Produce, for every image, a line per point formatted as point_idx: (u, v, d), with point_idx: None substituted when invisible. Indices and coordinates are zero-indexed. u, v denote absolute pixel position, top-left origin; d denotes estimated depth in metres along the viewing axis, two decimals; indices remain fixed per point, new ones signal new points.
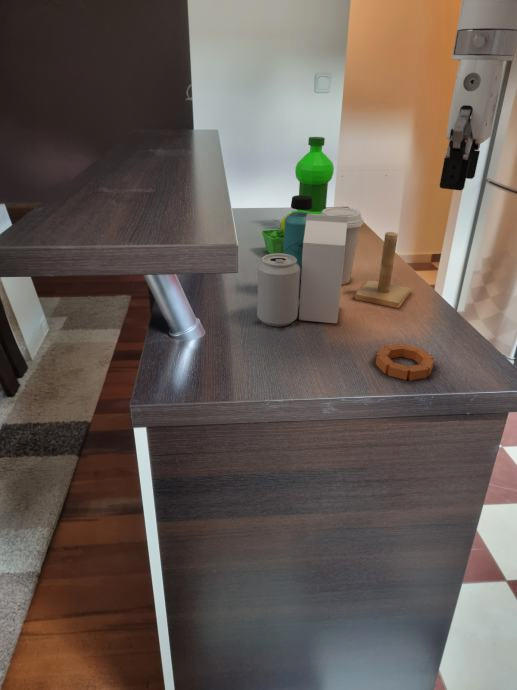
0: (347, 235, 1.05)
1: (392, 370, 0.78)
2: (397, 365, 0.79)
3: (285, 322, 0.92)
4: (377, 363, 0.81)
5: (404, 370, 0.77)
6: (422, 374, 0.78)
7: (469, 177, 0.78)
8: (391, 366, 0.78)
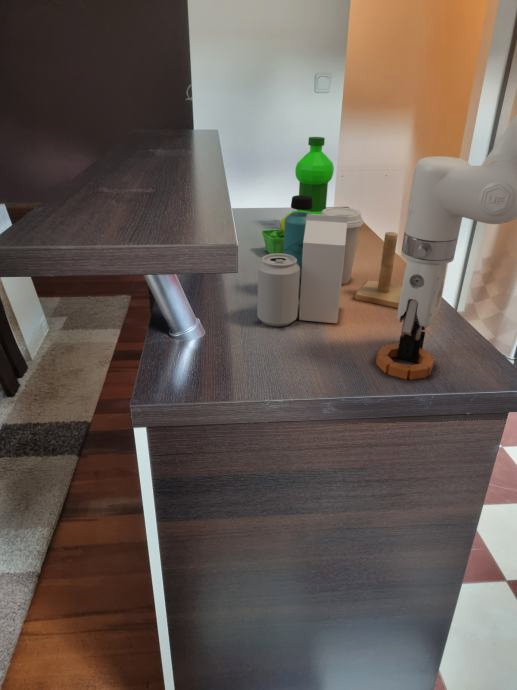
0: (347, 235, 1.05)
1: (392, 369, 0.78)
2: (397, 364, 0.79)
3: (285, 322, 0.92)
4: (377, 362, 0.81)
5: (404, 369, 0.78)
6: (422, 373, 0.78)
7: None
8: (391, 365, 0.78)
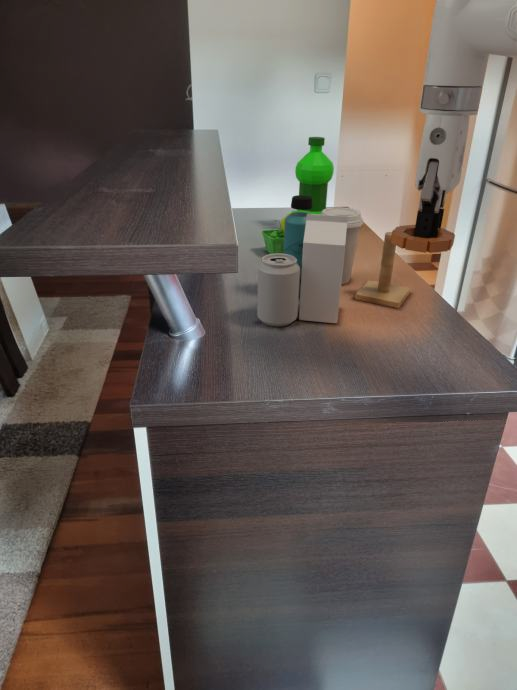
0: (347, 235, 1.05)
1: (410, 242, 0.71)
2: (415, 238, 0.72)
3: (285, 322, 0.92)
4: (393, 240, 0.74)
5: (423, 241, 0.71)
6: (443, 246, 0.71)
7: None
8: (409, 238, 0.72)
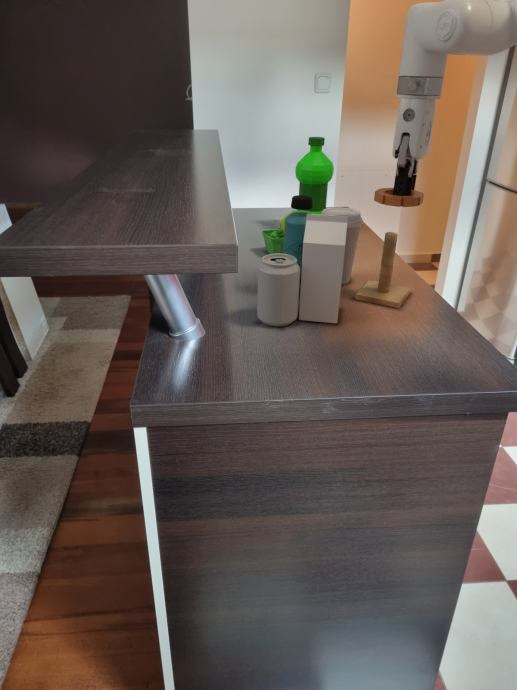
0: (347, 235, 1.05)
1: (388, 199, 0.91)
2: (392, 195, 0.92)
3: (285, 322, 0.92)
4: (375, 198, 0.94)
5: (398, 197, 0.91)
6: (414, 202, 0.91)
7: None
8: (387, 196, 0.92)
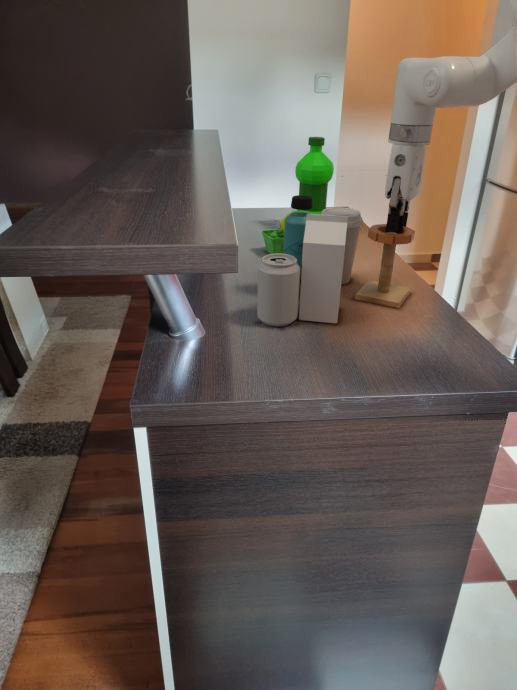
0: (347, 235, 1.05)
1: (381, 237, 0.97)
2: (385, 233, 0.98)
3: (285, 322, 0.92)
4: (369, 235, 1.00)
5: (390, 236, 0.96)
6: (405, 240, 0.97)
7: None
8: (380, 234, 0.97)
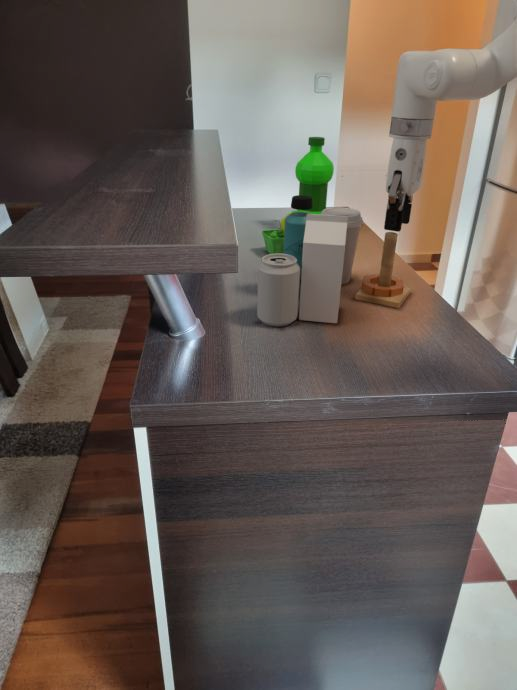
0: (347, 235, 1.05)
1: (377, 291, 1.03)
2: (380, 287, 1.03)
3: (285, 322, 0.92)
4: (363, 288, 1.05)
5: (386, 289, 1.02)
6: (398, 291, 1.03)
7: (405, 222, 1.04)
8: (376, 288, 1.03)
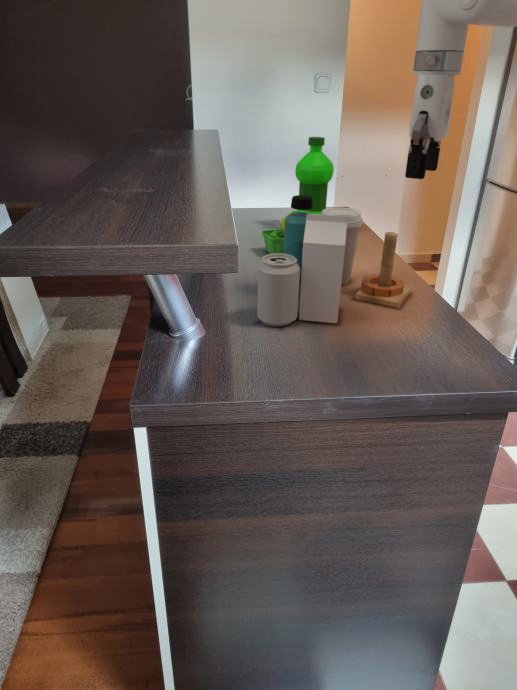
0: (347, 235, 1.05)
1: (377, 291, 1.03)
2: (380, 287, 1.03)
3: (285, 322, 0.92)
4: (363, 288, 1.05)
5: (386, 289, 1.02)
6: (398, 291, 1.03)
7: (432, 169, 0.95)
8: (376, 288, 1.03)
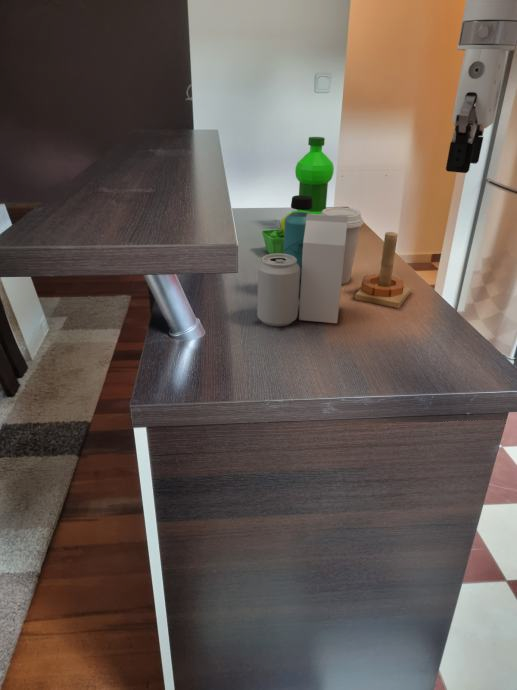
0: (347, 235, 1.05)
1: (377, 291, 1.03)
2: (380, 287, 1.03)
3: (285, 322, 0.92)
4: (363, 288, 1.05)
5: (386, 289, 1.02)
6: (398, 291, 1.03)
7: (473, 162, 0.82)
8: (376, 288, 1.03)
